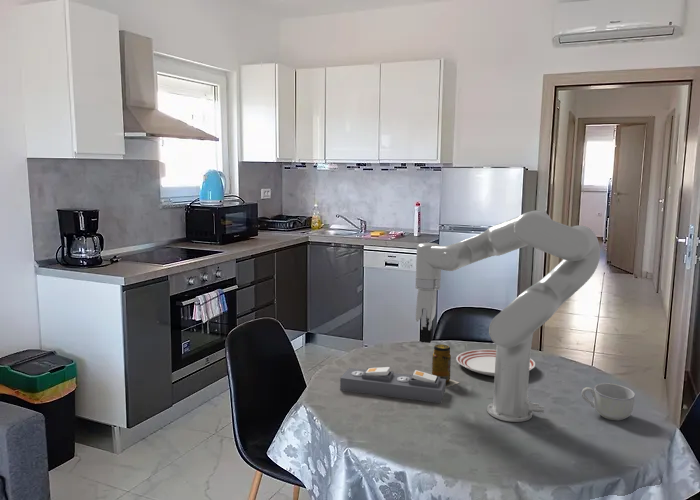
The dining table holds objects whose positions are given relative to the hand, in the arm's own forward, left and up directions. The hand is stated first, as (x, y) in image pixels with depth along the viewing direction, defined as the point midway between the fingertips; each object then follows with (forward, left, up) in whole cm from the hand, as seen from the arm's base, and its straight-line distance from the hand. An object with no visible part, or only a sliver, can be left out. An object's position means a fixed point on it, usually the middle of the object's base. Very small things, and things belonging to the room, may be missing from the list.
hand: (425, 341), depth 179 cm
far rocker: (+15, 0, -11) cm, 19 cm away
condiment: (-4, -13, -17) cm, 22 cm away
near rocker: (0, 0, -11) cm, 11 cm away
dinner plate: (-20, -33, -18) cm, 42 cm away
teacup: (-53, -2, -17) cm, 56 cm away
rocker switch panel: (+10, 0, -17) cm, 20 cm away
